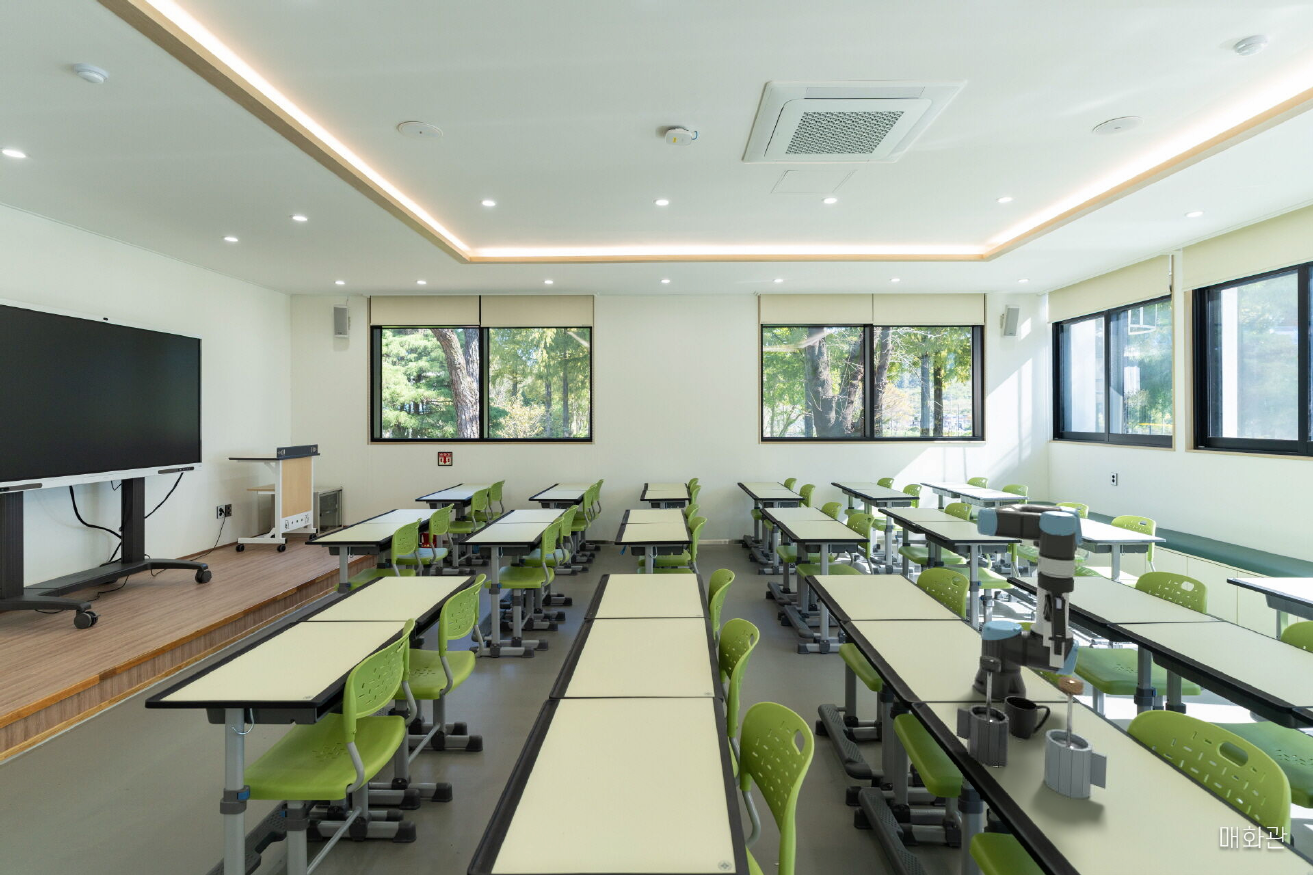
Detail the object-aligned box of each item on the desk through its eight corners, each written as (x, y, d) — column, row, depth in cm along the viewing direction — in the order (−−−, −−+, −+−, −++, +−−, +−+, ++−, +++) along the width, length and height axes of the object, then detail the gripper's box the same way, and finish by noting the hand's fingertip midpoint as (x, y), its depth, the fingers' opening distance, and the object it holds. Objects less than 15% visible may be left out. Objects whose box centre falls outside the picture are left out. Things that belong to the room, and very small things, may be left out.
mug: (1056, 744, 162) (1057, 712, 162) (1011, 740, 164) (1012, 708, 163) (1041, 728, 170) (1042, 697, 170) (998, 725, 172) (999, 694, 172)
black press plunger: (978, 713, 160) (980, 652, 160) (1004, 722, 156) (1006, 659, 155) (972, 722, 156) (974, 659, 155) (998, 731, 151) (1000, 666, 151)
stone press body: (1047, 769, 151) (1049, 725, 150) (1106, 790, 143) (1108, 743, 142) (1041, 786, 144) (1043, 740, 143) (1103, 809, 136) (1105, 760, 135)
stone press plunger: (1055, 738, 148) (1057, 672, 148) (1085, 748, 144) (1088, 680, 143) (1051, 749, 144) (1053, 681, 143) (1082, 759, 139) (1085, 689, 139)
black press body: (961, 738, 165) (962, 697, 164) (1010, 755, 157) (1011, 713, 156) (951, 752, 158) (953, 710, 158) (1002, 771, 150) (1004, 727, 149)
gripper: (1033, 560, 156) (1030, 635, 157) (1043, 584, 134) (1040, 672, 135) (1066, 563, 152) (1063, 641, 154) (1083, 589, 131) (1079, 679, 132)
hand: (1052, 656), depth 144 cm, fingers open, 13 cm apart
